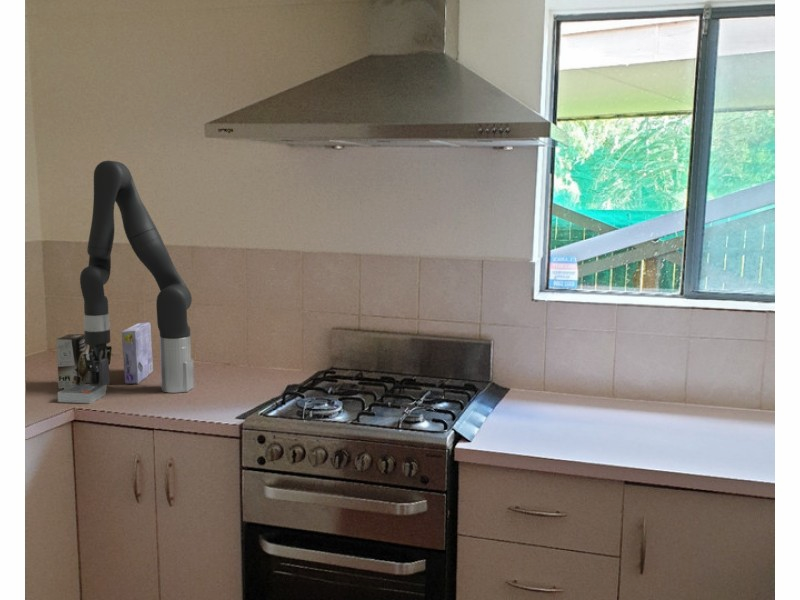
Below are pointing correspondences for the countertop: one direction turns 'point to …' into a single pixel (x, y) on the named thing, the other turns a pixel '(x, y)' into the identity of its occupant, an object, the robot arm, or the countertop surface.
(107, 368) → the gray block
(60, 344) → the coffee box
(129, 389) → the countertop surface
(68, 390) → the socket
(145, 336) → the cake pan box
